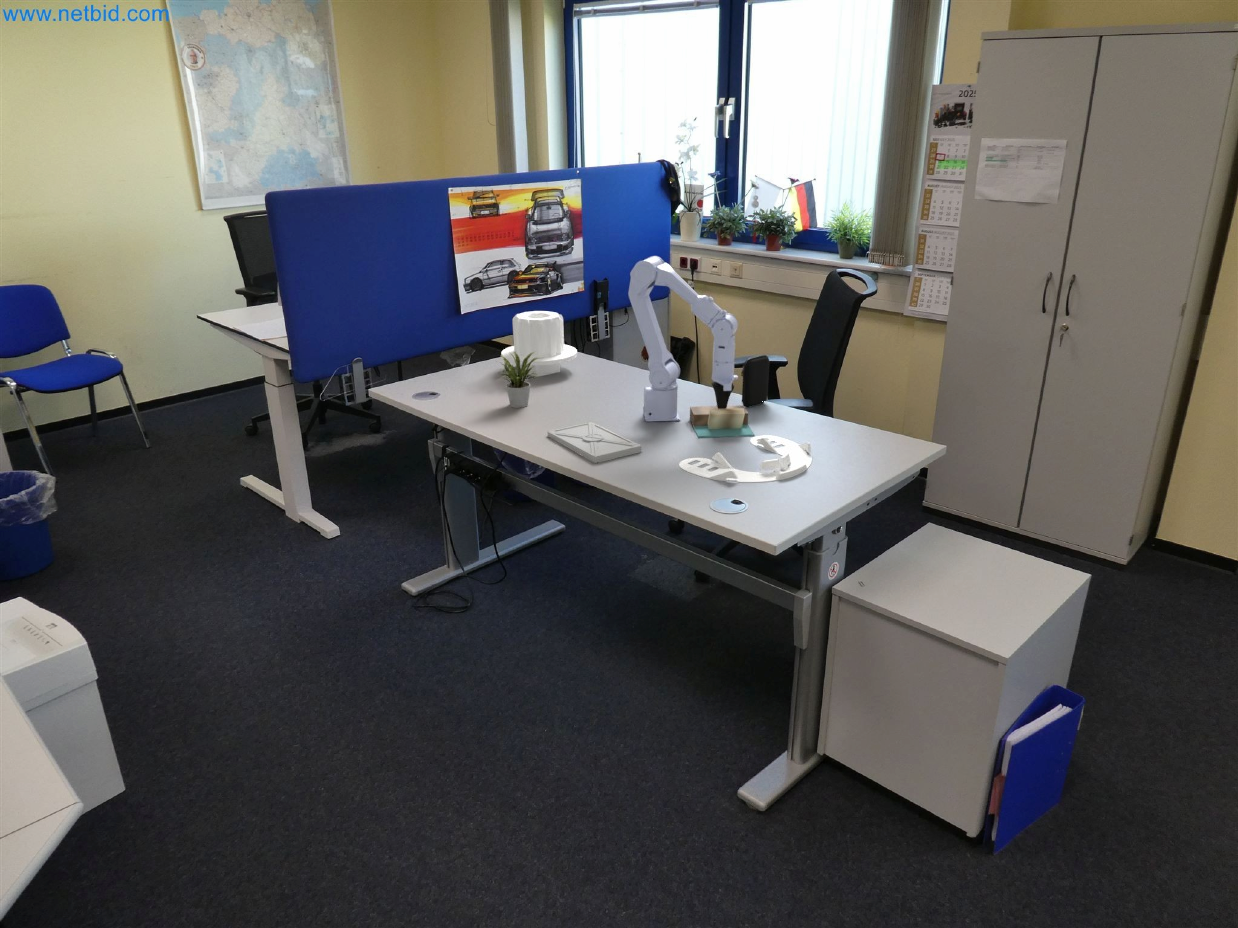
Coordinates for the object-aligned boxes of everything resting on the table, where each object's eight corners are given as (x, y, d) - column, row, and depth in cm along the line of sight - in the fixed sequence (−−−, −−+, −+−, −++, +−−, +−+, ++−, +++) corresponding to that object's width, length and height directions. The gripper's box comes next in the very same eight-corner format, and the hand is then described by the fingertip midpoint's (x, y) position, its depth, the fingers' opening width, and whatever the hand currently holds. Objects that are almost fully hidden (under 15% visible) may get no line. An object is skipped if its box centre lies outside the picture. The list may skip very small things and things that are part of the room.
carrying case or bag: (744, 410, 246) (746, 361, 241) (736, 408, 249) (738, 358, 243) (769, 403, 252) (772, 354, 247) (761, 401, 255) (764, 352, 249)
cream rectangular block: (707, 423, 232) (708, 429, 231) (710, 408, 227) (710, 414, 226) (740, 422, 232) (741, 428, 231) (743, 408, 228) (744, 413, 226)
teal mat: (698, 437, 226) (698, 436, 226) (693, 427, 233) (693, 426, 233) (754, 435, 227) (754, 434, 226) (748, 426, 234) (748, 424, 234)
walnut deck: (693, 426, 234) (693, 414, 232) (689, 418, 240) (690, 406, 239) (747, 425, 235) (748, 413, 233) (742, 417, 241) (743, 405, 240)
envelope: (591, 428, 235) (547, 438, 228) (591, 420, 234) (547, 430, 227) (641, 452, 216) (595, 464, 209) (641, 444, 216) (595, 455, 209)
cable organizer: (767, 435, 229) (767, 422, 228) (841, 459, 212) (842, 447, 210) (670, 466, 208) (670, 453, 207) (743, 497, 191) (744, 483, 190)
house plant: (551, 398, 259) (549, 345, 253) (543, 412, 246) (541, 357, 240) (505, 397, 260) (502, 344, 254) (494, 411, 248) (491, 356, 242)
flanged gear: (549, 358, 303) (547, 304, 296) (592, 372, 285) (591, 316, 278) (488, 370, 288) (484, 314, 282) (530, 386, 271) (527, 327, 264)
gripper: (743, 367, 223) (741, 416, 228) (733, 353, 237) (731, 400, 242) (717, 368, 223) (715, 417, 228) (707, 354, 236) (706, 401, 241)
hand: (721, 408), depth 235 cm, fingers closed
